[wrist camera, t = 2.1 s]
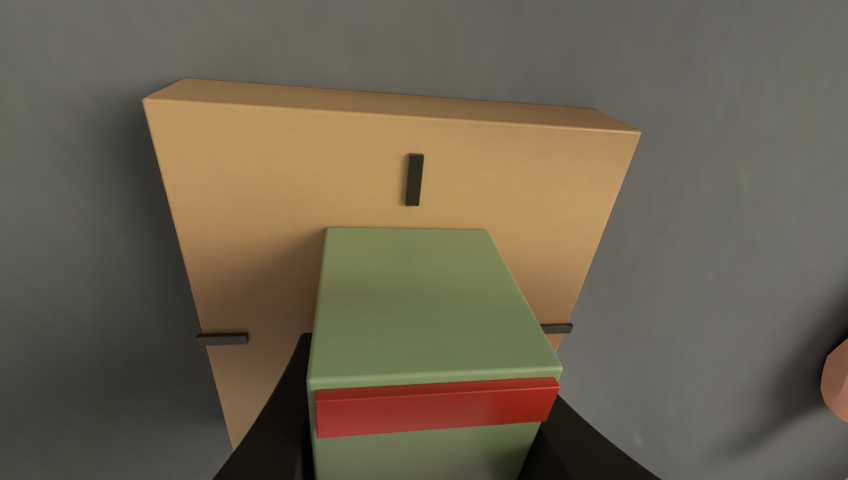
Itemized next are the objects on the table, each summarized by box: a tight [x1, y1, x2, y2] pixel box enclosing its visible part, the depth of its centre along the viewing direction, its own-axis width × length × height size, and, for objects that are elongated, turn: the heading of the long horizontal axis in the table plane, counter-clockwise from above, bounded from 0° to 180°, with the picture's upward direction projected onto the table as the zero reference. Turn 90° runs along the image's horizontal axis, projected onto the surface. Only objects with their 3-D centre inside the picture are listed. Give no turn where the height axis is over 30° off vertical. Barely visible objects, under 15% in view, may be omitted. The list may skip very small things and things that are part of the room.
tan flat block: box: [142, 78, 641, 452], centre depth 14 cm, size 14×12×3 cm
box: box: [306, 227, 563, 480], centre depth 11 cm, size 8×4×5 cm, turn 174°
